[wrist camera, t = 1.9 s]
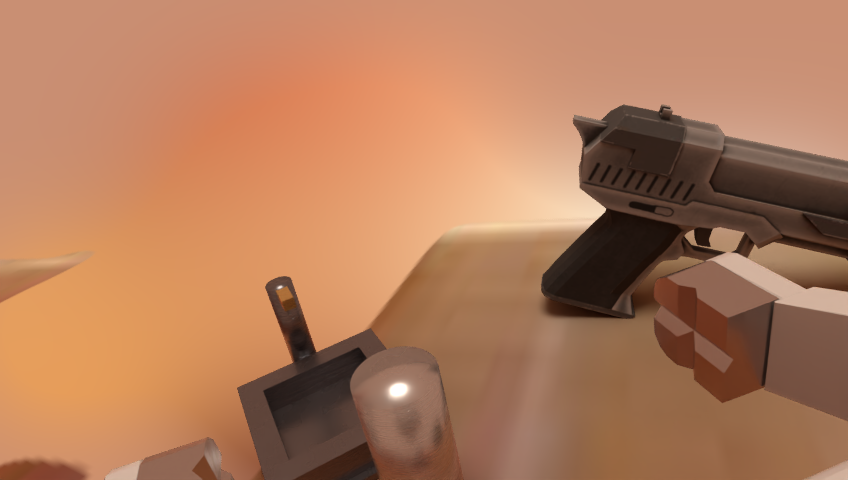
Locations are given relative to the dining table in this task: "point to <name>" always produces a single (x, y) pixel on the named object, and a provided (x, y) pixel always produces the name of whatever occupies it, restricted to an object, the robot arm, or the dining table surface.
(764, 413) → the dining table surface
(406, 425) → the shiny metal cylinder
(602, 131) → the firearm
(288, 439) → the keeper
